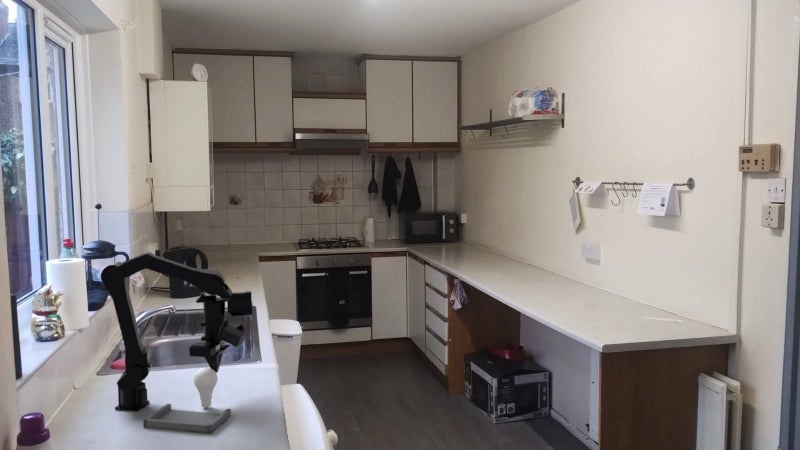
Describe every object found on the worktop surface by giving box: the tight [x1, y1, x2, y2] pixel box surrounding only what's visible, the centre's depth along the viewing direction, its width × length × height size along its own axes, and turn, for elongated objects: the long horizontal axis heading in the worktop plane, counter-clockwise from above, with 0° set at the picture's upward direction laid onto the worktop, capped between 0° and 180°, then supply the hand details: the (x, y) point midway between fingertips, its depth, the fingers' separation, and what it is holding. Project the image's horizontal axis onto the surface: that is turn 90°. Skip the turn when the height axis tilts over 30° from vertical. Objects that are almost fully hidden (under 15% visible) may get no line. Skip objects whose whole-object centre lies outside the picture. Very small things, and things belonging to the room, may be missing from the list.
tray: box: [142, 403, 232, 435], centre depth 159 cm, size 18×11×2 cm, turn 80°
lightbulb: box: [193, 367, 219, 409], centre depth 167 cm, size 6×6×11 cm
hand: (215, 372), depth 173 cm, fingers closed
